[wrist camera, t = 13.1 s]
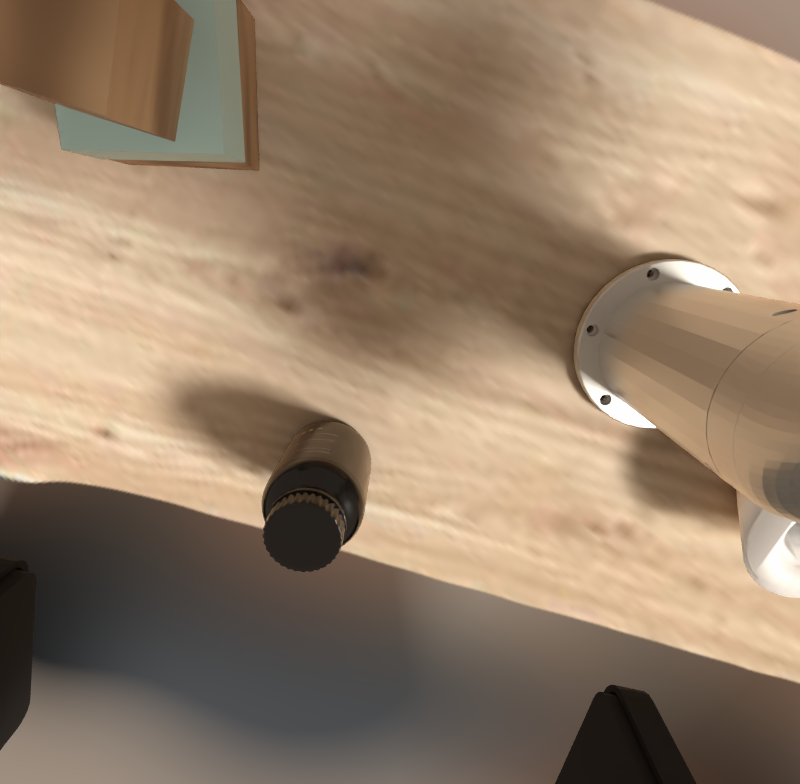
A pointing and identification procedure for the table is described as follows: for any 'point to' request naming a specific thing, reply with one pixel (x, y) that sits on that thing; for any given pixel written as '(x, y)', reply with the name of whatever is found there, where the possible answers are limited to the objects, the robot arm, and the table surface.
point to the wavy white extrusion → (770, 548)
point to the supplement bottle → (316, 496)
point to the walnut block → (100, 57)
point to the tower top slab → (200, 108)
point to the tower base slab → (248, 102)
